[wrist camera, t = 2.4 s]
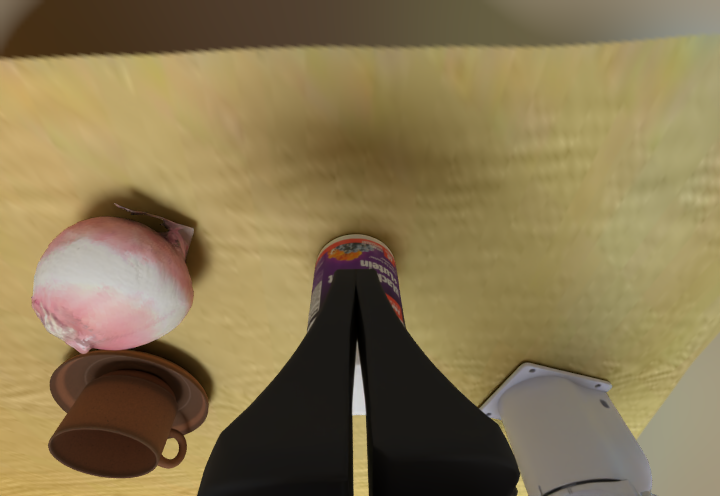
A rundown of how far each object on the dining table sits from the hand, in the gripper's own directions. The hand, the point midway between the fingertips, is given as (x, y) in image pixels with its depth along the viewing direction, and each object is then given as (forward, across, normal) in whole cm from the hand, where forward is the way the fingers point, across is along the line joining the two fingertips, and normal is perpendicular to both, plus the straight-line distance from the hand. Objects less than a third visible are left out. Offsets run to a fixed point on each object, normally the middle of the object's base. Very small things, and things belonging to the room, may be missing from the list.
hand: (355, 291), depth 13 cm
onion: (+11, +13, +5) cm, 18 cm away
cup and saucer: (+11, +18, +19) cm, 29 cm away
